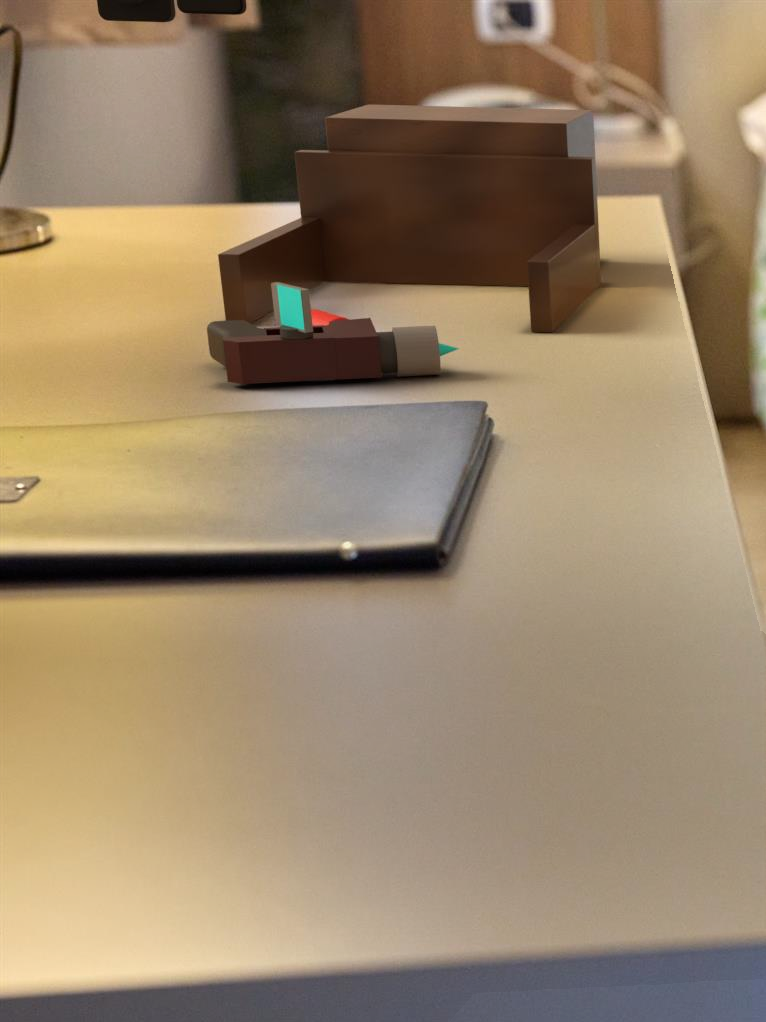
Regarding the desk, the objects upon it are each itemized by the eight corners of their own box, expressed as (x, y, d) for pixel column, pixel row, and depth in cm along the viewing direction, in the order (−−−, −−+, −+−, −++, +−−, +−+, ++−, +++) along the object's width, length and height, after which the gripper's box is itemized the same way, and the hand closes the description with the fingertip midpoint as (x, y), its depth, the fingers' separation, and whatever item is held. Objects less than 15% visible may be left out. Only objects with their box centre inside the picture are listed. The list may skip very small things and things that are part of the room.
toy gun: (465, 379, 99) (458, 283, 97) (212, 393, 95) (200, 294, 93) (443, 342, 107) (437, 253, 106) (210, 353, 103) (199, 261, 102)
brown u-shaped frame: (225, 325, 110) (204, 143, 107) (355, 254, 134) (342, 103, 130) (552, 332, 111) (541, 151, 107) (625, 261, 134) (618, 110, 131)
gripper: (120, -367, 94) (163, 9, 100) (-47, -432, 77) (15, 21, 83) (279, -361, 94) (312, 13, 100) (145, -424, 78) (194, 27, 84)
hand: (177, 17), depth 92 cm, fingers open, 9 cm apart
